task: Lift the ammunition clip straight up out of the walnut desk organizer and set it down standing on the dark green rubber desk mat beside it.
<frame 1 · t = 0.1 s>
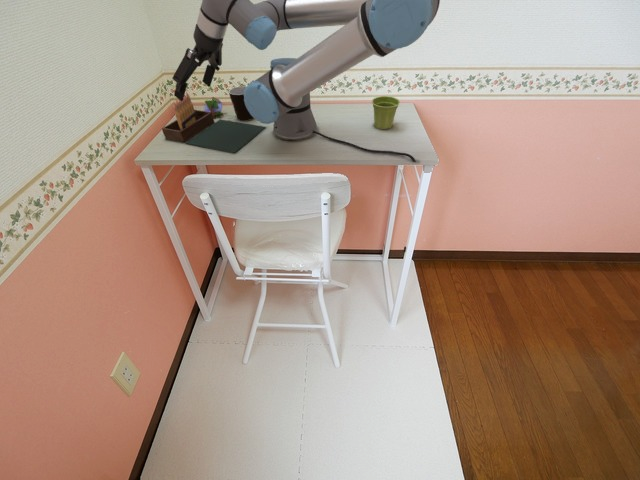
hand: (192, 90, 106), 15 cm above the table, tool tilted 35°, fingers open, 13 cm apart
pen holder: (191, 130, 120), on the table
desk mat: (226, 135, 116), on the table
coffee mug: (247, 116, 128), on the table
ammunition clip: (191, 131, 120), resting in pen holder
plant pot: (383, 126, 117), on the table
geometric puzzle: (215, 116, 129), on the table
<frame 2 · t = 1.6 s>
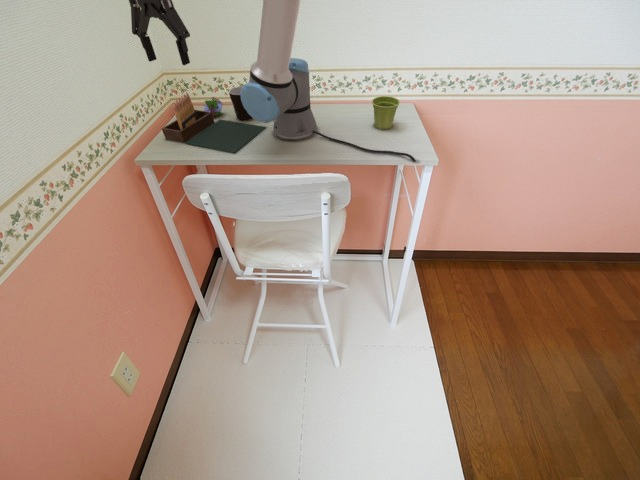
hand: (169, 62, 104), 23 cm above the table, tool pointing down, fingers open, 13 cm apart
nothing on the table moved.
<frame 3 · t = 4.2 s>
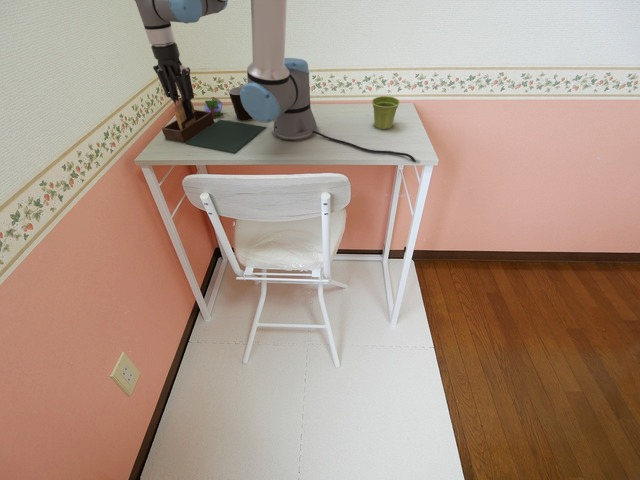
hand: (187, 118, 117), 5 cm above the table, tool pointing down, fingers closed on ammunition clip, 2 cm apart
ammunition clip: (191, 131, 120), resting in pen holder, touching gripper
everything else where it was.
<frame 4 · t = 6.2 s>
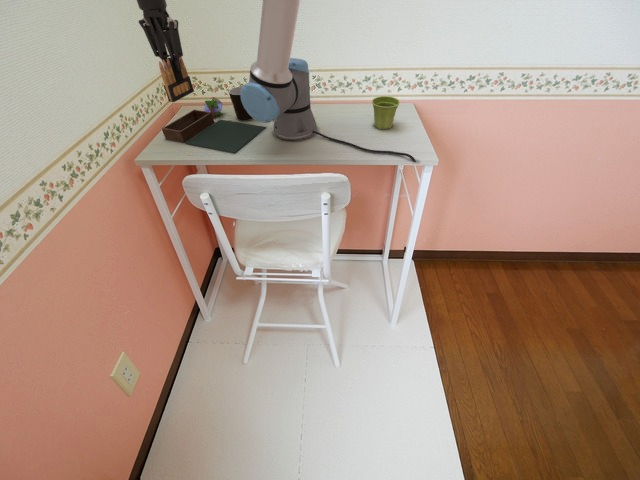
hand: (177, 80, 108), 17 cm above the table, tool pointing down, fingers closed on ammunition clip, 2 cm apart
ammunition clip: (182, 97, 111), point 12 cm above the table, touching gripper
everything else where it was.
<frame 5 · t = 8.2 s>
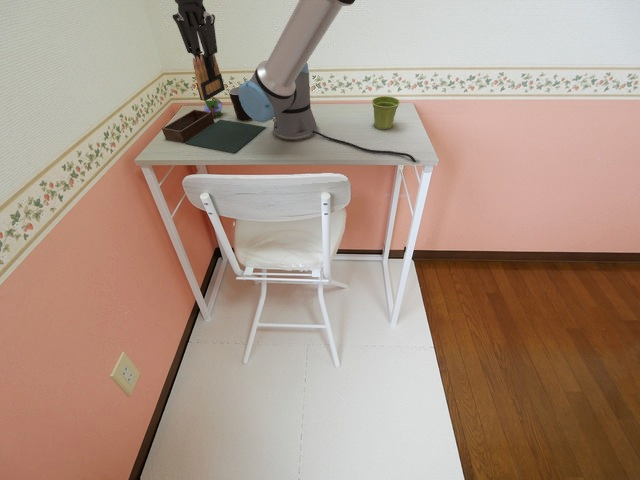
hand: (209, 78, 104), 19 cm above the table, tool pointing down, fingers closed on ammunition clip, 2 cm apart
ammunition clip: (213, 95, 107), point 14 cm above the table, touching gripper
everything else where it was.
when the fingers open (5 cm above the table, at t = 11.4 s): ammunition clip stays where it is, resting on desk mat.
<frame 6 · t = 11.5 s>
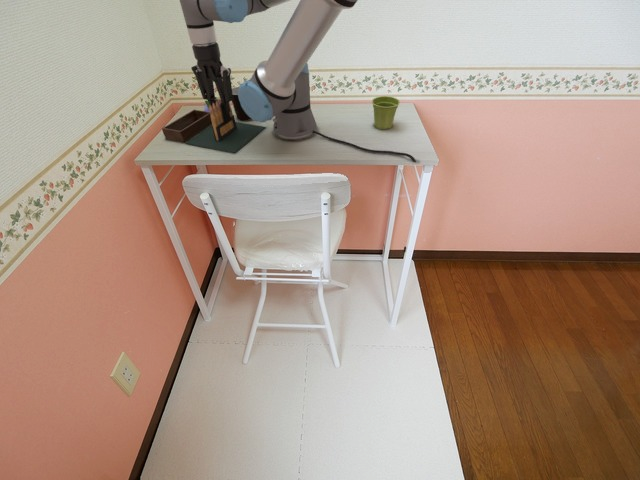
hand: (223, 121, 112), 5 cm above the table, tool pointing down, fingers open, 3 cm apart
ammunition clip: (226, 135, 116), resting on desk mat
everything else where it was.
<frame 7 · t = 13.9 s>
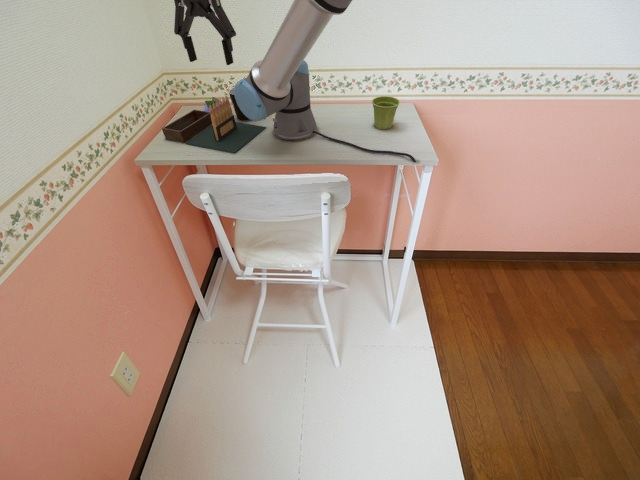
hand: (211, 62, 102), 23 cm above the table, tool pointing down, fingers open, 13 cm apart
nothing on the table moved.
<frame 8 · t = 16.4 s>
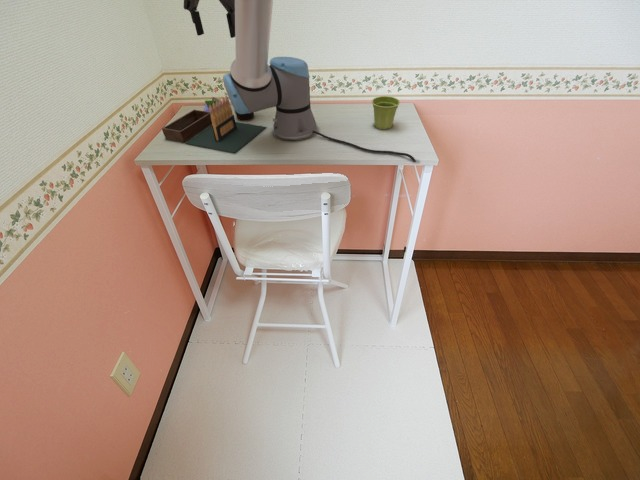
hand: (217, 35, 112), 27 cm above the table, tool pointing down, fingers open, 13 cm apart
nothing on the table moved.
at the end: ammunition clip inside the target area on the desk mat (0.0 cm from its centre), point 0.2 cm above the desk mat's base; the gripper is holding nothing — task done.
